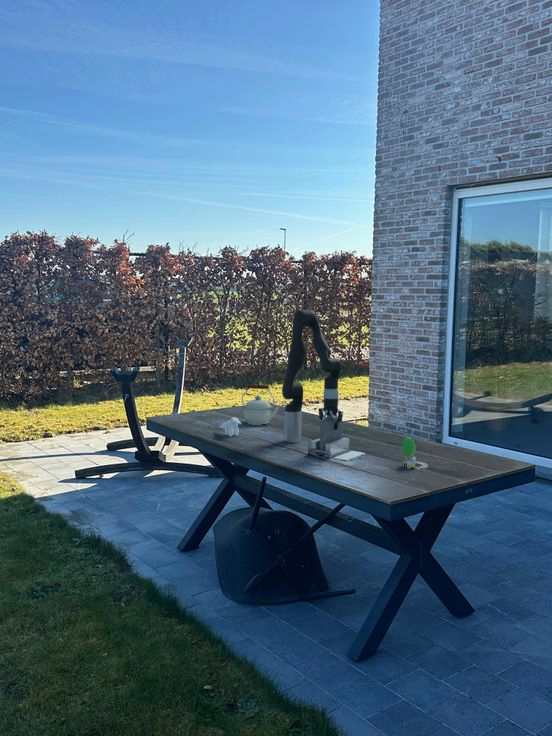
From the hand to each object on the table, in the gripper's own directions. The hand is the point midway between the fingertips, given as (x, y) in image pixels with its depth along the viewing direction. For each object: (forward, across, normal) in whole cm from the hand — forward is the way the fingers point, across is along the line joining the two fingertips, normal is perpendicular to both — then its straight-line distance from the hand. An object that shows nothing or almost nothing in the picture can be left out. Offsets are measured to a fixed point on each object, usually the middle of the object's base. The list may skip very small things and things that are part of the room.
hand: (330, 429), depth 325 cm
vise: (+13, 0, 0) cm, 13 cm away
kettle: (+13, -77, +36) cm, 86 cm away
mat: (+13, +12, 0) cm, 17 cm away
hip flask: (+13, 0, 0) cm, 13 cm away
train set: (+13, +45, +6) cm, 47 cm away
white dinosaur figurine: (+13, -69, -2) cm, 70 cm away
